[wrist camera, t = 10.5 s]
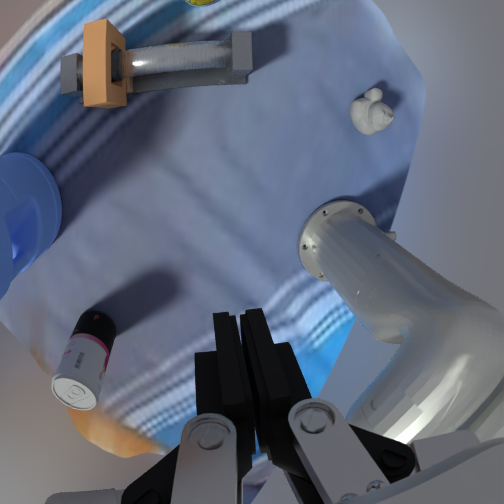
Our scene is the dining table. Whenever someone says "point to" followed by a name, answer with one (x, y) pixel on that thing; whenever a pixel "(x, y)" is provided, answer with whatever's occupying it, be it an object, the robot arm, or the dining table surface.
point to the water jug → (25, 214)
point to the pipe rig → (169, 65)
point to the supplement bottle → (200, 2)
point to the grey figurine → (371, 112)
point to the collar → (101, 66)
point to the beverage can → (84, 361)
